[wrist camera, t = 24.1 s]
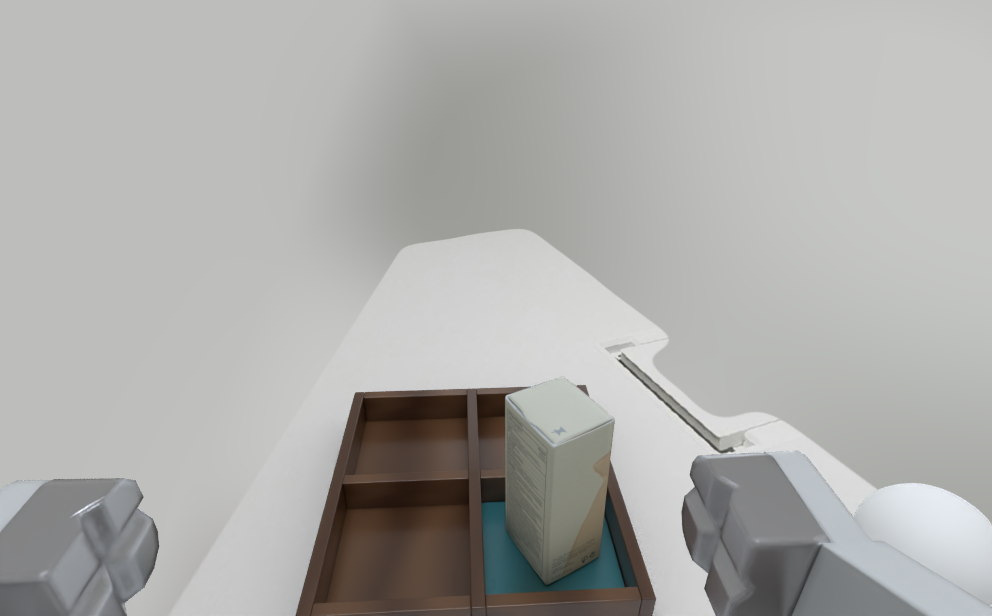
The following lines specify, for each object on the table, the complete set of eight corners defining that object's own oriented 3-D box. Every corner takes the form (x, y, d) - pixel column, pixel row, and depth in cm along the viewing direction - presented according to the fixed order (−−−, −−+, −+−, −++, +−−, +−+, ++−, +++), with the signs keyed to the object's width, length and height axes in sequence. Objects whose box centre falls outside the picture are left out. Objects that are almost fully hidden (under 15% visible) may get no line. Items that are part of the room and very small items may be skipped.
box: (601, 558, 35) (621, 421, 30) (544, 589, 33) (555, 449, 28) (553, 501, 39) (563, 371, 34) (500, 526, 37) (502, 393, 32)
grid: (303, 650, 31) (294, 617, 29) (358, 420, 48) (354, 392, 46) (648, 631, 32) (656, 598, 30) (582, 412, 49) (585, 384, 47)
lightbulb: (786, 607, 33) (843, 471, 28) (867, 580, 35) (935, 447, 29) (875, 718, 28) (964, 577, 23) (965, 681, 29) (1069, 541, 24)
